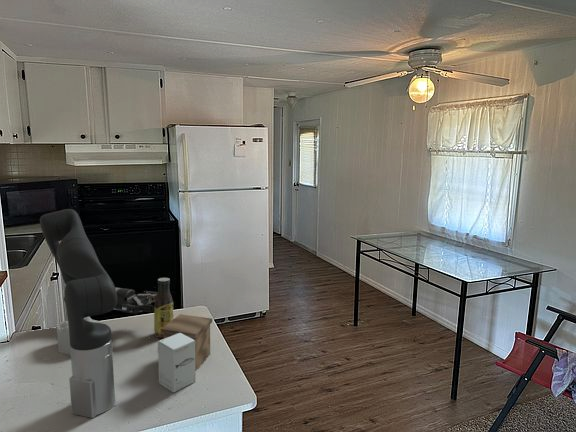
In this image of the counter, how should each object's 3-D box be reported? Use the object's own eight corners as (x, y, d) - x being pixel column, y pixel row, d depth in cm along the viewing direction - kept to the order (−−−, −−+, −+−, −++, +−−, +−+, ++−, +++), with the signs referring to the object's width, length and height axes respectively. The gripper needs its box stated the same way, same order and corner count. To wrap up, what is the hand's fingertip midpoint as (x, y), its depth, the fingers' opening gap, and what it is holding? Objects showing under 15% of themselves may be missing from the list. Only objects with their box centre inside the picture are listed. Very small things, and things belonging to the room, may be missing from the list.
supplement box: (173, 393, 109) (172, 349, 106) (158, 382, 113) (156, 340, 111) (196, 382, 114) (195, 340, 112) (180, 372, 119) (179, 331, 117)
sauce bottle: (161, 340, 137) (160, 284, 134) (150, 335, 141) (148, 279, 137) (177, 333, 142) (176, 279, 139) (166, 328, 146) (165, 275, 142)
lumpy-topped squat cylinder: (83, 357, 126) (81, 330, 124) (49, 350, 129) (46, 325, 128) (106, 341, 136) (105, 317, 134) (73, 336, 139) (72, 312, 137)
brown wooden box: (196, 372, 119) (195, 334, 116) (162, 366, 121) (161, 329, 119) (212, 354, 129) (212, 318, 127) (181, 349, 132) (180, 314, 130)
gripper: (104, 295, 136) (148, 301, 132) (131, 282, 150) (171, 286, 146) (106, 317, 137) (149, 323, 134) (132, 301, 151) (171, 306, 147)
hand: (160, 304), depth 140 cm, fingers open, 8 cm apart
